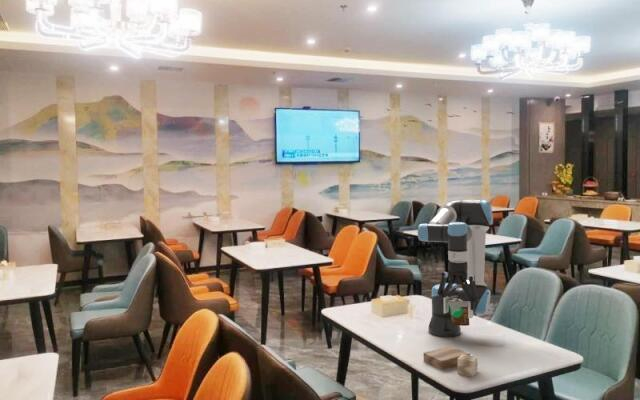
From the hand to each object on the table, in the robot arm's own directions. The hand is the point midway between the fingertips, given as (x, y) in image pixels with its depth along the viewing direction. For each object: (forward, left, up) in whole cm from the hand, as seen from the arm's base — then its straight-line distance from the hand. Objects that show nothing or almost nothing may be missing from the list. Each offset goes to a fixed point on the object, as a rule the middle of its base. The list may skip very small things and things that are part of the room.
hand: (458, 315), depth 213 cm
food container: (0, 0, -4) cm, 4 cm away
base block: (-4, -3, -20) cm, 21 cm away
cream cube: (+8, -7, -20) cm, 22 cm away
